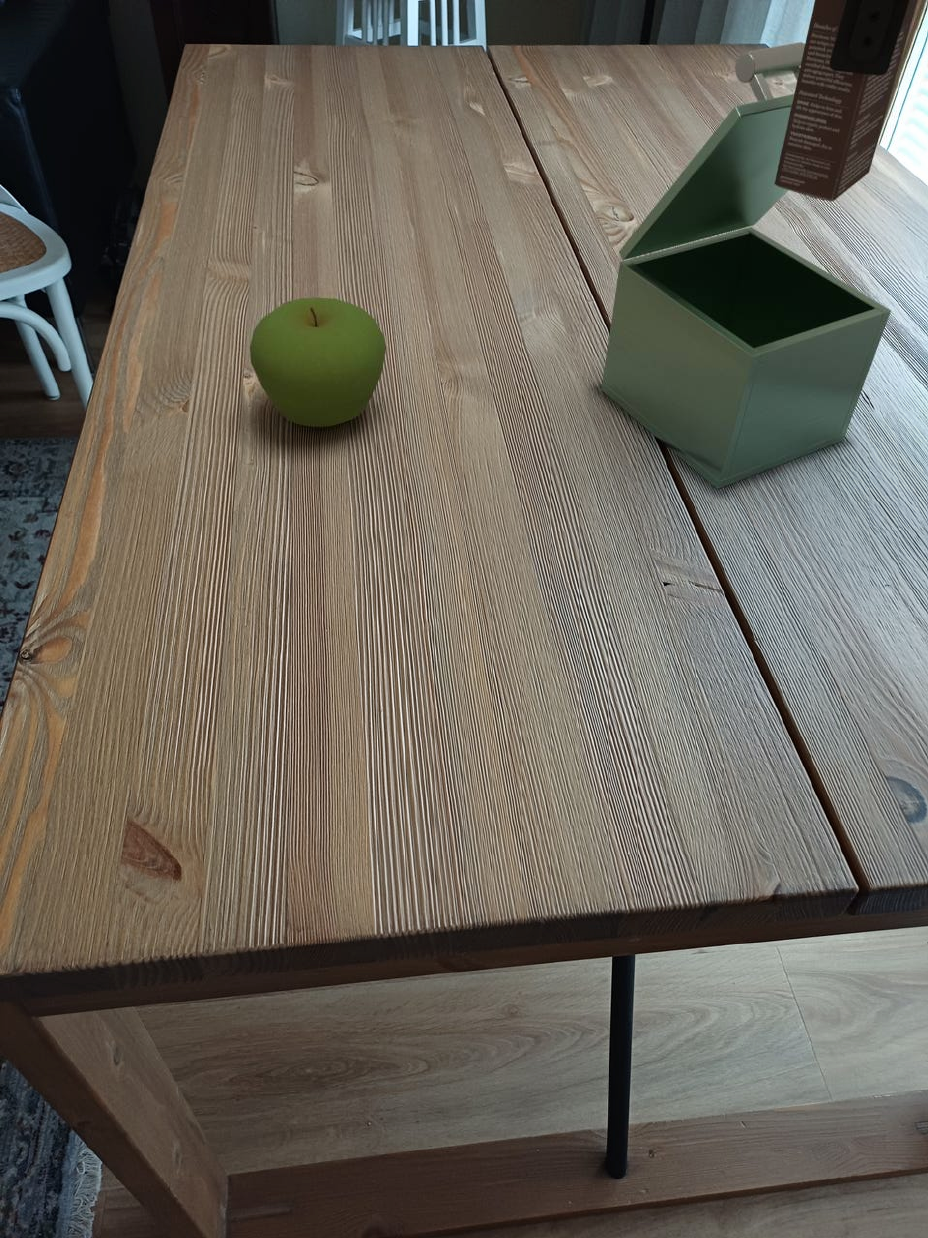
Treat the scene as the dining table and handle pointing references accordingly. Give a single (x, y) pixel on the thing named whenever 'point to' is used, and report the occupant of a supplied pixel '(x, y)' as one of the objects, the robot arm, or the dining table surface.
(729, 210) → the bin lid
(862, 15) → the robot arm
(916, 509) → the dining table surface
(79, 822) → the dining table surface
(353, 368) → the apple
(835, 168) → the box
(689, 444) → the trash can
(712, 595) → the dining table surface
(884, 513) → the dining table surface
